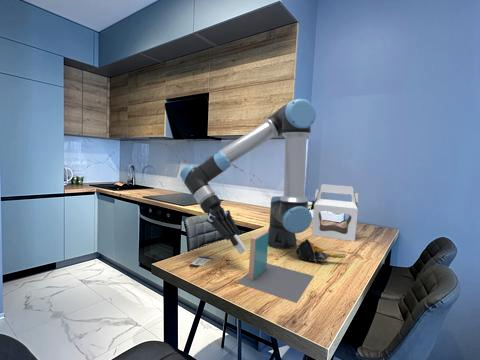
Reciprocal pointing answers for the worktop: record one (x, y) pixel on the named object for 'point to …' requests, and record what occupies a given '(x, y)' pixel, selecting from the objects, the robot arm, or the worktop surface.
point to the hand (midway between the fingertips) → (243, 251)
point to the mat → (279, 282)
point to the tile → (258, 254)
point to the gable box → (335, 207)
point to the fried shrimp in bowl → (314, 252)
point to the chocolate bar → (200, 261)
